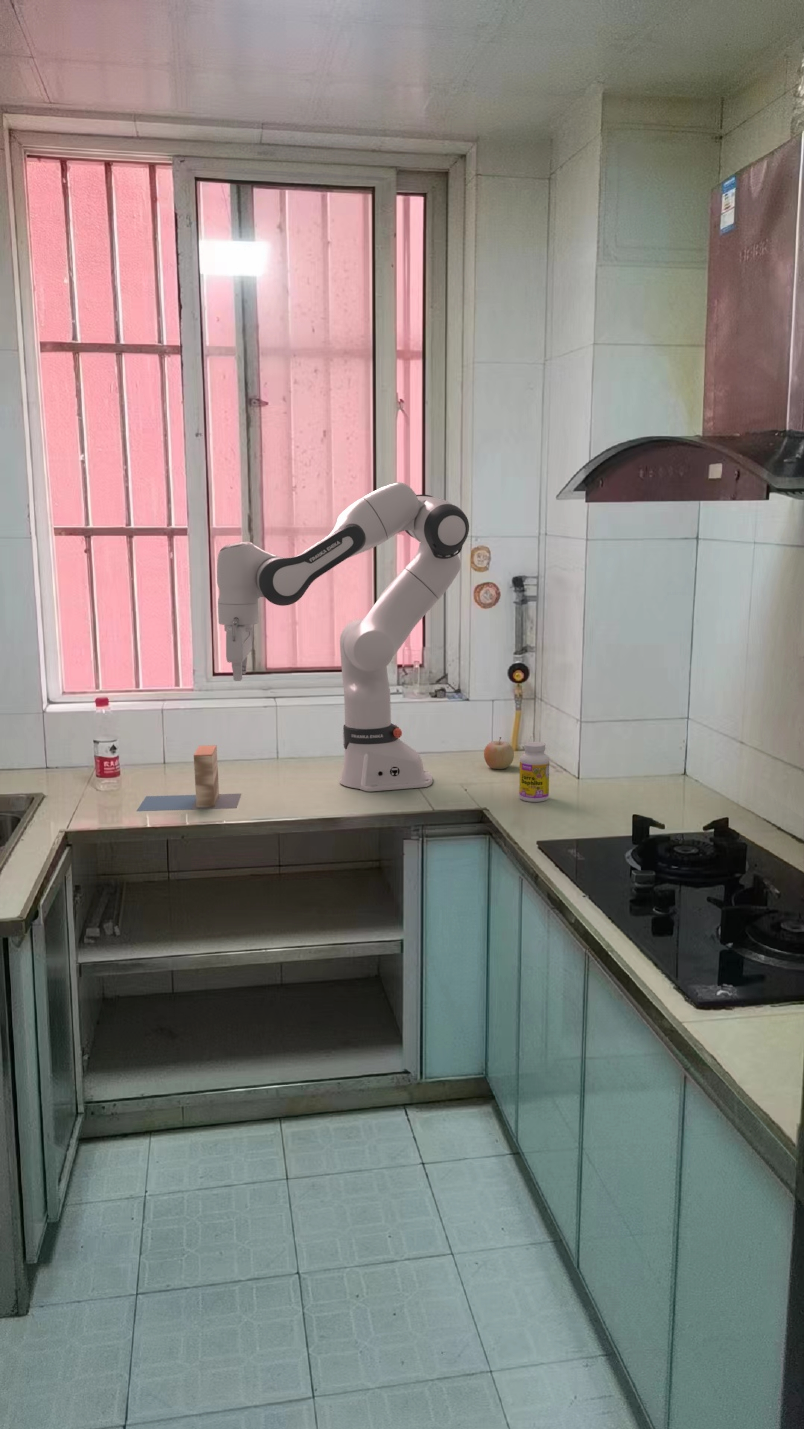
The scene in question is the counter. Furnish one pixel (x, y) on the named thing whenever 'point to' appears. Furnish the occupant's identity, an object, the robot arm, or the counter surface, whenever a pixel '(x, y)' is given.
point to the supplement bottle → (534, 773)
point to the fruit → (498, 754)
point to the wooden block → (206, 776)
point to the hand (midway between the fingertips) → (240, 677)
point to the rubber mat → (186, 802)
